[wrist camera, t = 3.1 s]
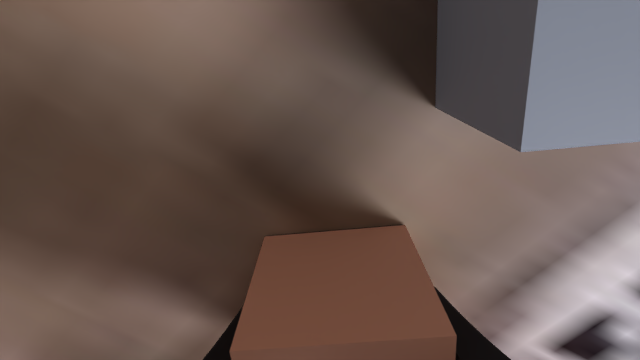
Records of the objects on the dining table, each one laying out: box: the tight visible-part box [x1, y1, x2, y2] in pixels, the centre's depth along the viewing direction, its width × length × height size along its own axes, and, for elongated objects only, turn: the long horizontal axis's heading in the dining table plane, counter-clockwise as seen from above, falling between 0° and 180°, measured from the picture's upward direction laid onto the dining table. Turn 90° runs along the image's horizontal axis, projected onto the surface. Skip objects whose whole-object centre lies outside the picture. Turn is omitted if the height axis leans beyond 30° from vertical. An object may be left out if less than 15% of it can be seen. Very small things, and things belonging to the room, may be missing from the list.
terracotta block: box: [229, 225, 457, 360], centre depth 11 cm, size 5×5×5 cm
